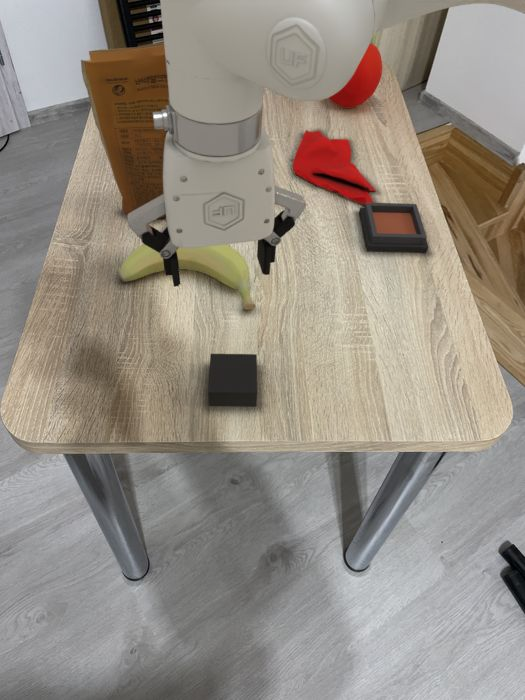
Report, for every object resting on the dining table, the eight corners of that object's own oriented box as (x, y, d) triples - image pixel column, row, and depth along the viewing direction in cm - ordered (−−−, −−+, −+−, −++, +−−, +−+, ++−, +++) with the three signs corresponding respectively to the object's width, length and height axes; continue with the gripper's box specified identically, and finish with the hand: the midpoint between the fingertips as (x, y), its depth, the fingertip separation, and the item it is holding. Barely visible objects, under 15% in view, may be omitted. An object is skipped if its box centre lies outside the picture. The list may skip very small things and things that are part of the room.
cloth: (279, 134, 109) (280, 123, 107) (344, 130, 111) (346, 119, 109) (309, 214, 93) (311, 204, 91) (384, 208, 95) (387, 198, 94)
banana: (171, 202, 82) (276, 271, 77) (177, 224, 87) (276, 289, 82) (109, 265, 78) (217, 341, 73) (119, 283, 83) (220, 356, 78)
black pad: (255, 368, 73) (256, 354, 70) (256, 406, 69) (257, 392, 66) (211, 367, 72) (210, 353, 70) (209, 406, 69) (208, 392, 66)
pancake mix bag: (229, 221, 91) (229, 46, 69) (114, 229, 89) (75, 51, 67) (224, 197, 95) (222, 24, 73) (114, 204, 93) (77, 27, 71)
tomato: (315, 91, 121) (323, 26, 110) (368, 90, 122) (381, 27, 111) (323, 118, 114) (333, 52, 103) (380, 117, 115) (395, 52, 104)
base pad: (415, 214, 95) (419, 201, 93) (426, 252, 89) (431, 240, 86) (358, 212, 94) (361, 200, 92) (366, 251, 88) (369, 238, 86)
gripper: (113, 156, 41) (142, 307, 55) (328, 138, 44) (305, 285, 58) (108, 106, 46) (136, 258, 59) (304, 93, 49) (288, 240, 62)
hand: (219, 271), depth 58 cm, fingers open, 9 cm apart
